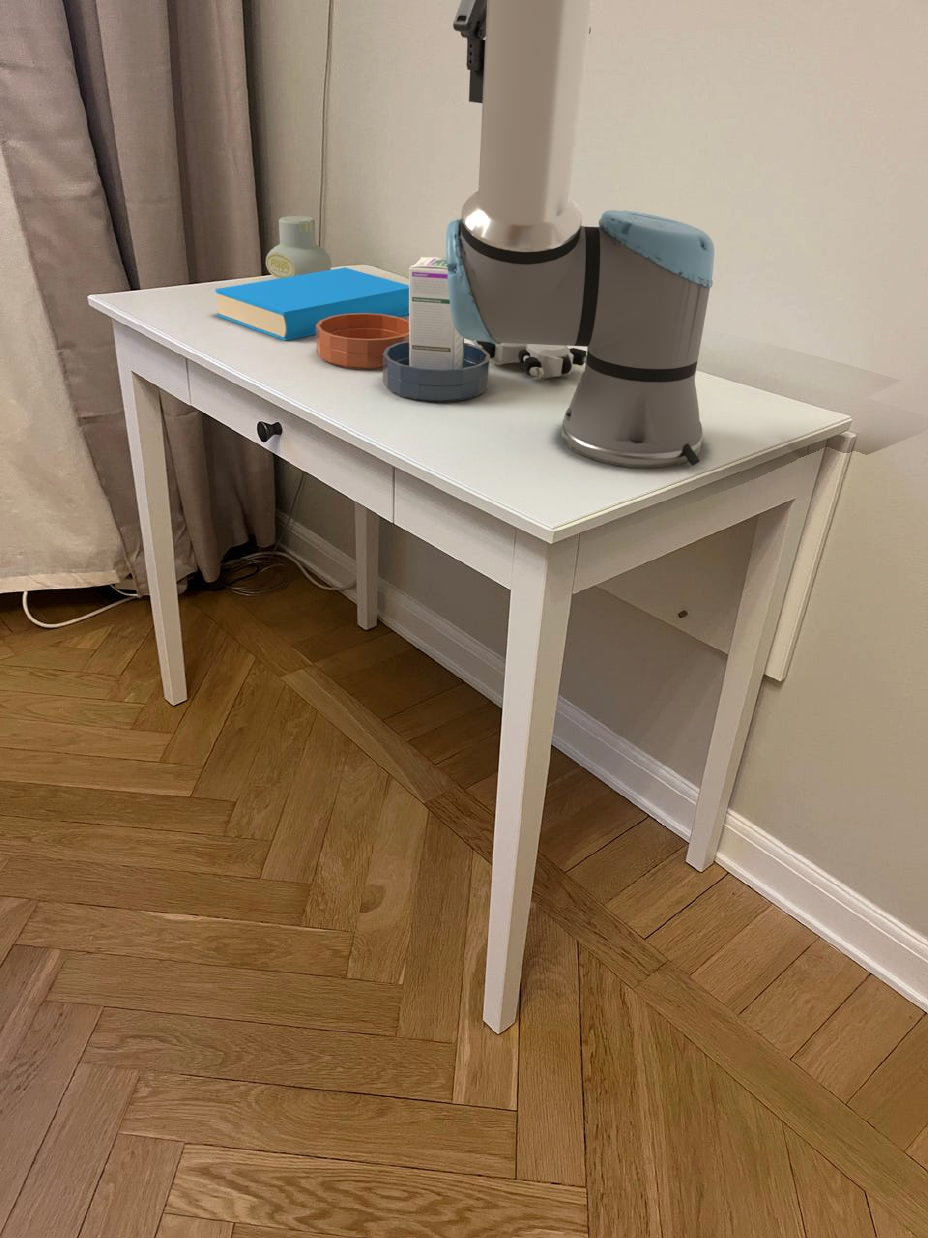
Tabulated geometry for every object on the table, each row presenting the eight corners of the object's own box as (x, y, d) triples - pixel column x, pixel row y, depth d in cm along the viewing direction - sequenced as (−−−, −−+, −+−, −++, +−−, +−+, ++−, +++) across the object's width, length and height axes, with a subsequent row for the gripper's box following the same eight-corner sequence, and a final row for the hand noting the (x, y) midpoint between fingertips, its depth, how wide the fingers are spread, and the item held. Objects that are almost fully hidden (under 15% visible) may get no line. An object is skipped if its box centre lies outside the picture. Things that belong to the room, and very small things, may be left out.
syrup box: (454, 392, 120) (458, 268, 112) (407, 387, 121) (408, 264, 113) (463, 378, 125) (468, 258, 117) (418, 373, 126) (420, 254, 118)
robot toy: (599, 381, 130) (524, 344, 139) (605, 347, 127) (528, 312, 136) (531, 397, 123) (457, 358, 132) (535, 362, 120) (459, 324, 130)
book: (213, 289, 144) (343, 264, 160) (216, 318, 146) (344, 291, 162) (287, 313, 134) (417, 284, 150) (289, 344, 137) (417, 313, 153)
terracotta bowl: (434, 360, 132) (435, 330, 130) (354, 376, 125) (353, 345, 123) (377, 337, 140) (377, 308, 138) (299, 351, 133) (297, 321, 131)
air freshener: (259, 279, 167) (255, 216, 162) (296, 272, 173) (293, 211, 168) (303, 290, 162) (300, 226, 156) (339, 283, 167) (338, 220, 162)
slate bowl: (509, 390, 122) (511, 359, 120) (427, 410, 115) (427, 377, 113) (443, 364, 131) (444, 333, 129) (363, 380, 123) (362, 349, 121)
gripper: (586, -100, 120) (569, 97, 131) (425, -123, 106) (421, 100, 117) (632, -102, 115) (611, 102, 126) (470, -127, 101) (462, 105, 112)
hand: (520, 101), depth 121 cm, fingers open, 13 cm apart
